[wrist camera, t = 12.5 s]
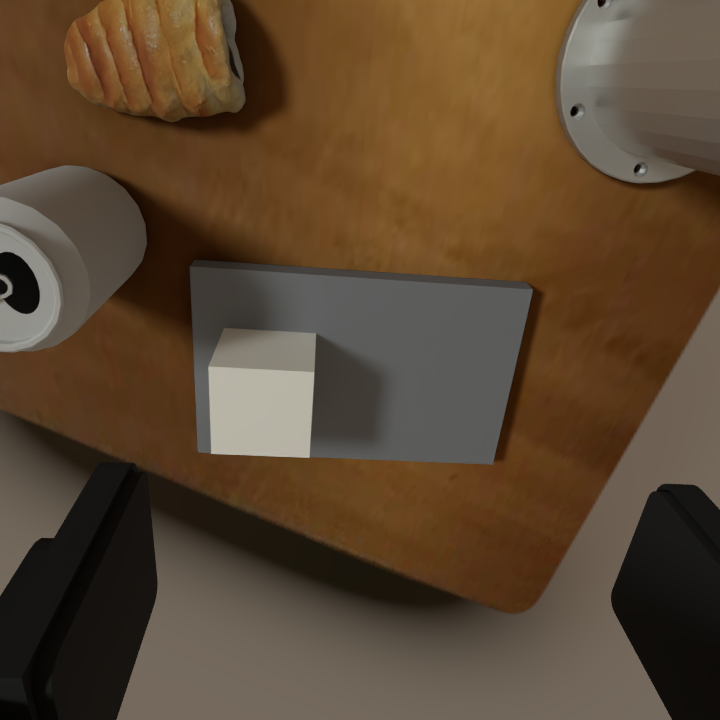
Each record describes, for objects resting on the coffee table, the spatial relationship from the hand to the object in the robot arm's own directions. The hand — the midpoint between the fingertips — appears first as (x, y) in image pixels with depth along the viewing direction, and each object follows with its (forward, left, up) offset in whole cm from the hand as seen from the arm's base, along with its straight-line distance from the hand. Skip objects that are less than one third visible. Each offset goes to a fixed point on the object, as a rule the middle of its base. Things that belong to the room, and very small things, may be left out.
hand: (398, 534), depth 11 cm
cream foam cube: (+9, +7, -27) cm, 29 cm away
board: (+4, +10, -28) cm, 30 cm away
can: (+15, -6, -28) cm, 33 cm away
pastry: (+5, -12, -29) cm, 32 cm away
